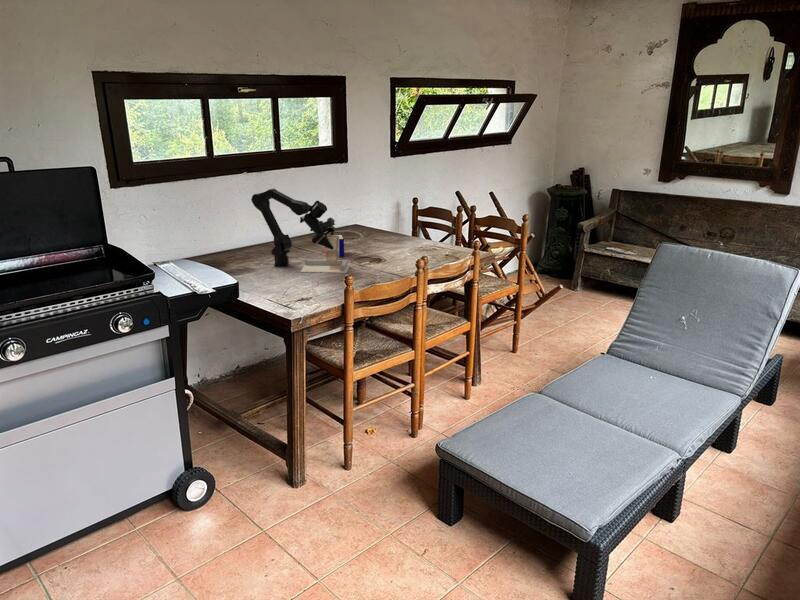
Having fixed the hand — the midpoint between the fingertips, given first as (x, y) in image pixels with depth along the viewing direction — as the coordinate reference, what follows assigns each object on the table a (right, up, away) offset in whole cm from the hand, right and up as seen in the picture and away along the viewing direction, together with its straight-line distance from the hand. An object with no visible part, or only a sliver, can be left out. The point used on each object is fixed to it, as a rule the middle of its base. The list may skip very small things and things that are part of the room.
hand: (335, 247), depth 298 cm
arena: (-6, -10, +7) cm, 14 cm away
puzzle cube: (-4, -1, +36) cm, 37 cm away
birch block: (-1, -6, +2) cm, 7 cm away
